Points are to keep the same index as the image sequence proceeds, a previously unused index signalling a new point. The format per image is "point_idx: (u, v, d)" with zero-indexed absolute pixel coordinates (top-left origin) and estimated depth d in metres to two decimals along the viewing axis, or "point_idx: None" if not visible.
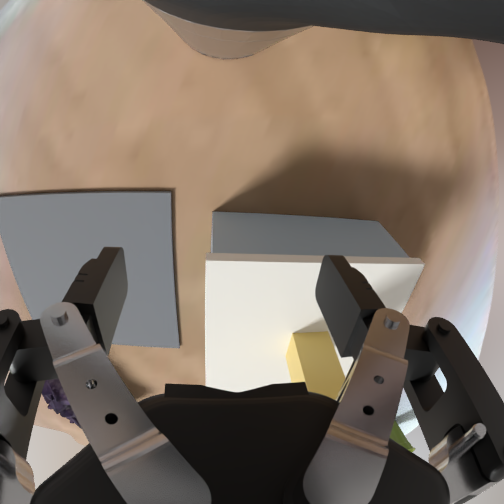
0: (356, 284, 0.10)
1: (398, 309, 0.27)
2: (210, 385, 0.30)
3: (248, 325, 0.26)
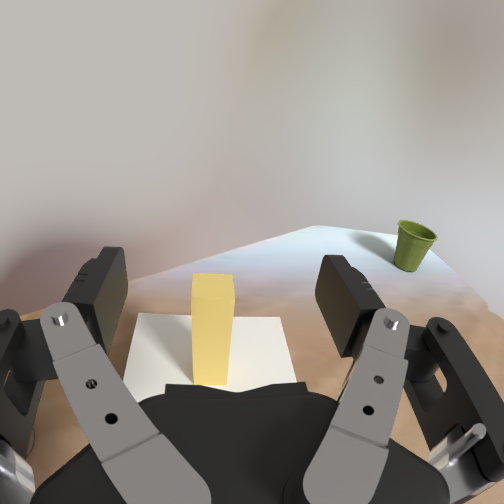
0: (356, 284, 0.10)
1: (178, 318, 0.38)
2: None
3: None
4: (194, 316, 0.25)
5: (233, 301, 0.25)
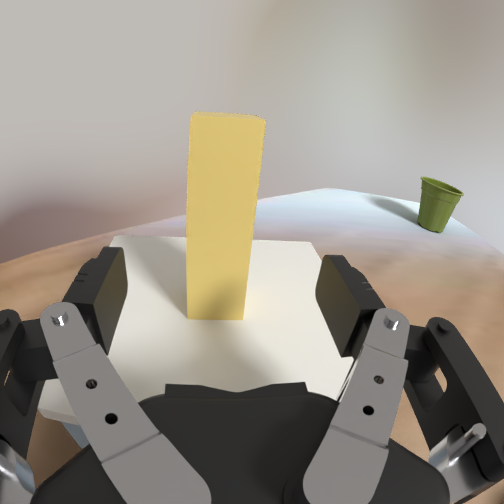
0: (356, 284, 0.10)
1: (169, 240, 0.27)
2: None
3: (164, 368, 0.15)
4: (193, 157, 0.14)
5: (263, 126, 0.13)
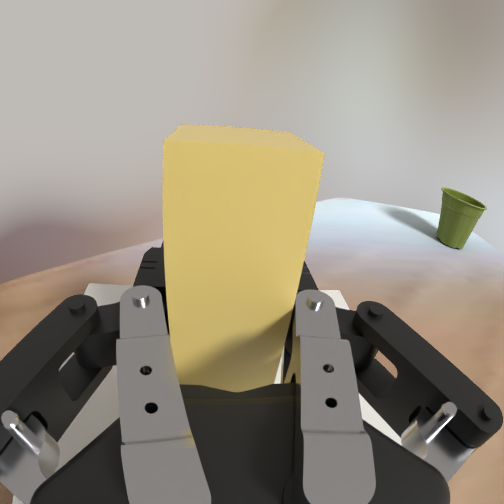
0: None
1: None
2: None
3: None
4: (173, 228, 0.07)
5: (318, 164, 0.07)
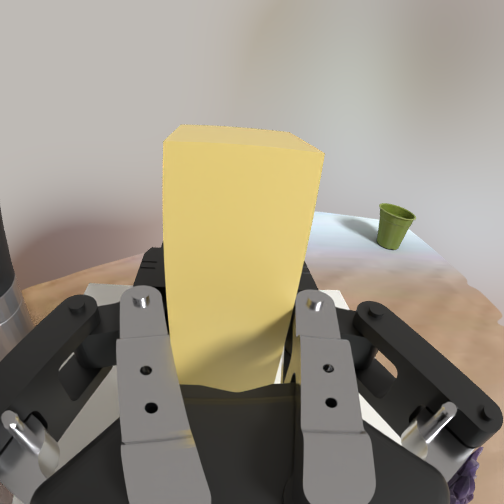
0: None
1: None
2: None
3: None
4: (173, 228, 0.07)
5: (318, 165, 0.07)
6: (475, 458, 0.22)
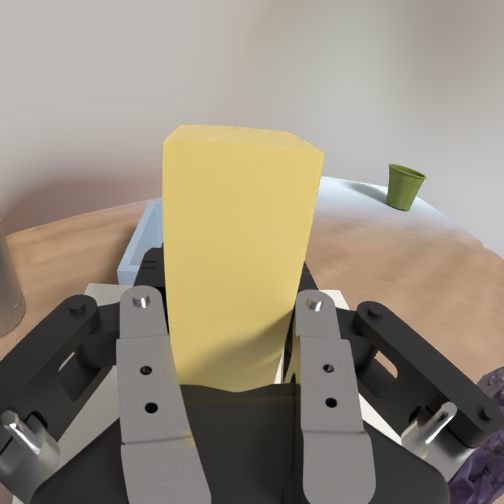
0: None
1: None
2: None
3: None
4: (172, 227, 0.07)
5: (318, 164, 0.07)
6: None
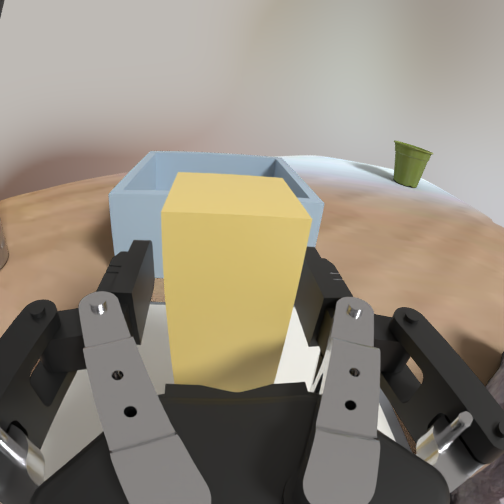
0: (323, 274, 0.10)
1: (158, 310, 0.21)
2: None
3: None
4: (173, 285, 0.08)
5: (306, 229, 0.07)
6: None
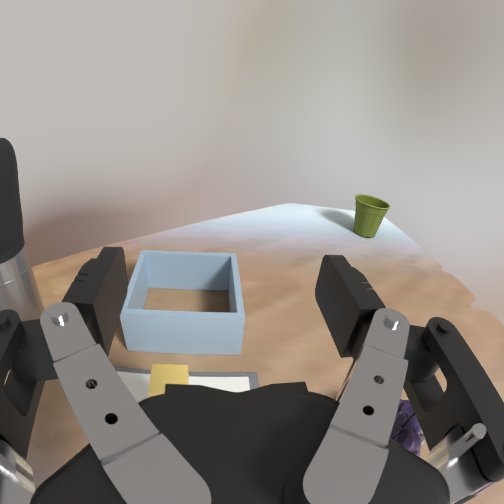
0: (356, 284, 0.10)
1: None
2: None
3: None
4: None
5: None
6: None
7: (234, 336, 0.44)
